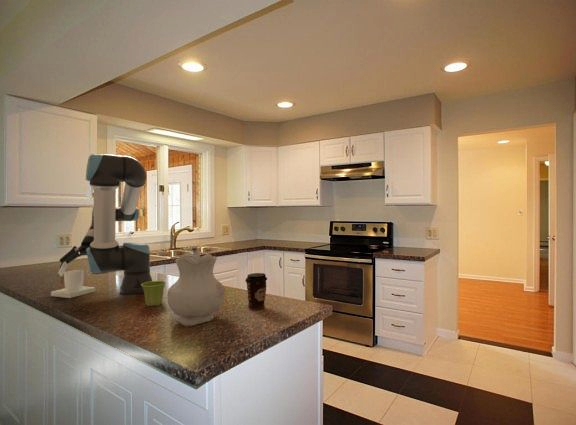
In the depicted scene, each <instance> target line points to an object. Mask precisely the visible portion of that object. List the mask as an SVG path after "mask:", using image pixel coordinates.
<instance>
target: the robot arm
mask: <svg viewBox="0 0 576 425" xmlns="http://www.w3.org/2000/svg"><path fill="white" fill-rule="evenodd" d="M85 170H86V171H85V181H87V182H89V185H90V187H91V188H92V189H93V207H92V211H91V224H90V226H89V228H88V231H87V232H86V233H85V235H84V237H83V239H82V241H81V244H80V246H79V247H78V246H76V245H74V246H73V247H72V248H71V249H70V250H69V251H68V252H67V253H65V254H64V255H63V256H62V257H61V258H60V259H59V260H58V261H59V263H60V265H59V270H58V271H57V274H58V275H59V276H60V277H63V276H64V272H66V270H67V268H68V266H69V263H71V262H73V261H75V259H77V258H80V257H82V256H83V257H84V256H86V257H87V261H88V262H87V263H88V267H87V270H86V274H87V275H88V276H91V274H102V273H111V272H112V273H113V272H119V271H120V272H121V271H123V277H122V282H121V284H120V287H119V292H120V293H121V294H124V295H134V294H135V295H137V294H144V290H143V287H142V286H141V284H143V283H146V282H151V281H153V277H152V276H151V257H150V256H151V252H150V251H151V250H150V246H149V245H148V243H141V242H123V243H122V245H120V244H119V242H118V240H116V222H132V221H133V222H134V221H135V222H136V221H138V220H139V217H140V211H139V210H140V209H139V207H138V203H139V199H140V195H141V192H142V189H143V188H142V187H144V186H145V184H146V183H147V179H148V178H147V172H146V171H147V170H146V169H145V167H144V166H143V165H142V163H141V162H140V161H139V160H138V159H136V158H134V157H132V156H129V155H116V154H107V153H106V154H104V153H92V154H90V155H89V156H88V158H87V164H86V169H85ZM121 182H124V188H123V193H122V197H121V201H120V202H121V203H120V207H119V206H118V207H116V200H117V198H116V195H117V194H116V192H117V191H116V190H117V189H118V188H119V187H120V185H121V184H120V183H121Z"/></svg>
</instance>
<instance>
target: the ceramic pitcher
mask: <svg viewBox="0 0 576 425" xmlns="http://www.w3.org/2000/svg"><path fill="white" fill-rule="evenodd" d="M191 250H192V255H191V254H190V253H184V254H181V255H179V258H175V260H174V262H175V263H176V267H177V268H178V271H179V273H178V274H179V277H178V279H177V280H176V281H175V282H174V283H172V285H171V286H170V287H169V288H168V290H167V292H166V293H167V295H166V296H167V297H166V299H167V304H168V307H169V309H170V310H171V311H172V313H173V314H174V315H176V316H177V317H180V318H179V319H178V321H179V323H180V324H181V325H182V326H185V327H192V326H196V325H199V324H202V323H206V322H207V323H208V322H211V321H213V320H214V318H215V317H214V315H213V314H214V313H216V312H217V311H218V310H219V309H220V308H221V306H222V304H223V302H224V300H225V296H226V295H225V294H226V291H225V290H226V287H225V286H224V284H222V282H221V281H219V280H218V279H216V278H215V275H214V267H215V264H216V263H217V262H216V261H217V260H218V259H217V256H216V255H215V256H213V255H212V254H211V253H206V254H205V255H203V256H201V255H200V254H201V253H200V250H199V248H198V247H196V246H192V248H191Z"/></svg>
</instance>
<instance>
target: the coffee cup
mask: <svg viewBox="0 0 576 425" xmlns="http://www.w3.org/2000/svg"><path fill="white" fill-rule="evenodd" d="M267 280H268V277H267V276H266V273H264V272H262V273H261V272H254V273H249V274H247V277H246V278H245V280H244V281H245V283H246V289H247V300H248V306H247V307H248V309H249V310H252V311H258V310H262V309H264V308H265V306H266V305H265V301H266V298H267V297H266V295H267V294H266V293H267Z"/></svg>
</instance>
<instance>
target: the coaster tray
mask: <svg viewBox="0 0 576 425" xmlns="http://www.w3.org/2000/svg"><path fill="white" fill-rule="evenodd" d="M95 292H96V287H94V286H84V285H83V290H81V291H77V292H73V293H66V290H65V288H61V289H58V290H53V291H50V297H58V298H67V299H72V298H77V297H79V296H83V295H87V294H91V293H95Z"/></svg>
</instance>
